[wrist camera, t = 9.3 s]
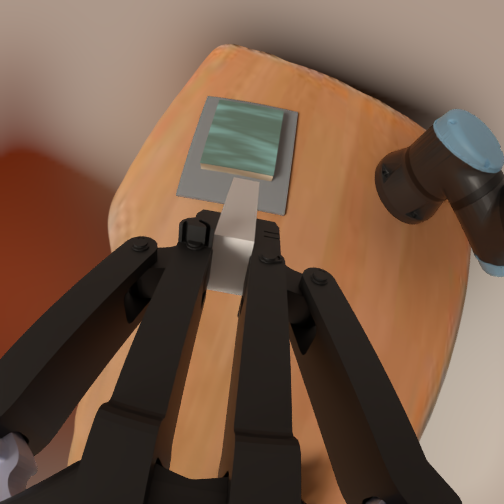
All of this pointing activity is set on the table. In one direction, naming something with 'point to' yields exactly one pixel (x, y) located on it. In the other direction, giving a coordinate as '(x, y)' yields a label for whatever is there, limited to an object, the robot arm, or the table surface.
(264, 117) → the plaque
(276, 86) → the table surface
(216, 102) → the mat
